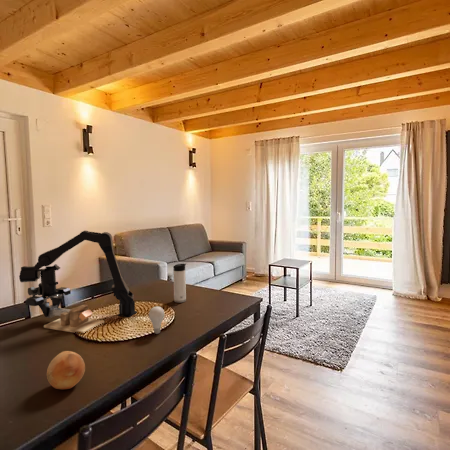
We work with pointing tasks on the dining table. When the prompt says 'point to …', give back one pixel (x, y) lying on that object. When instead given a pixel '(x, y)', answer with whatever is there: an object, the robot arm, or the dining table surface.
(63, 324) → the bearing stand
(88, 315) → the block
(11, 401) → the dining table surface
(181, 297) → the travel mug
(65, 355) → the onion
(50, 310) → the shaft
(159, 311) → the lightbulb
